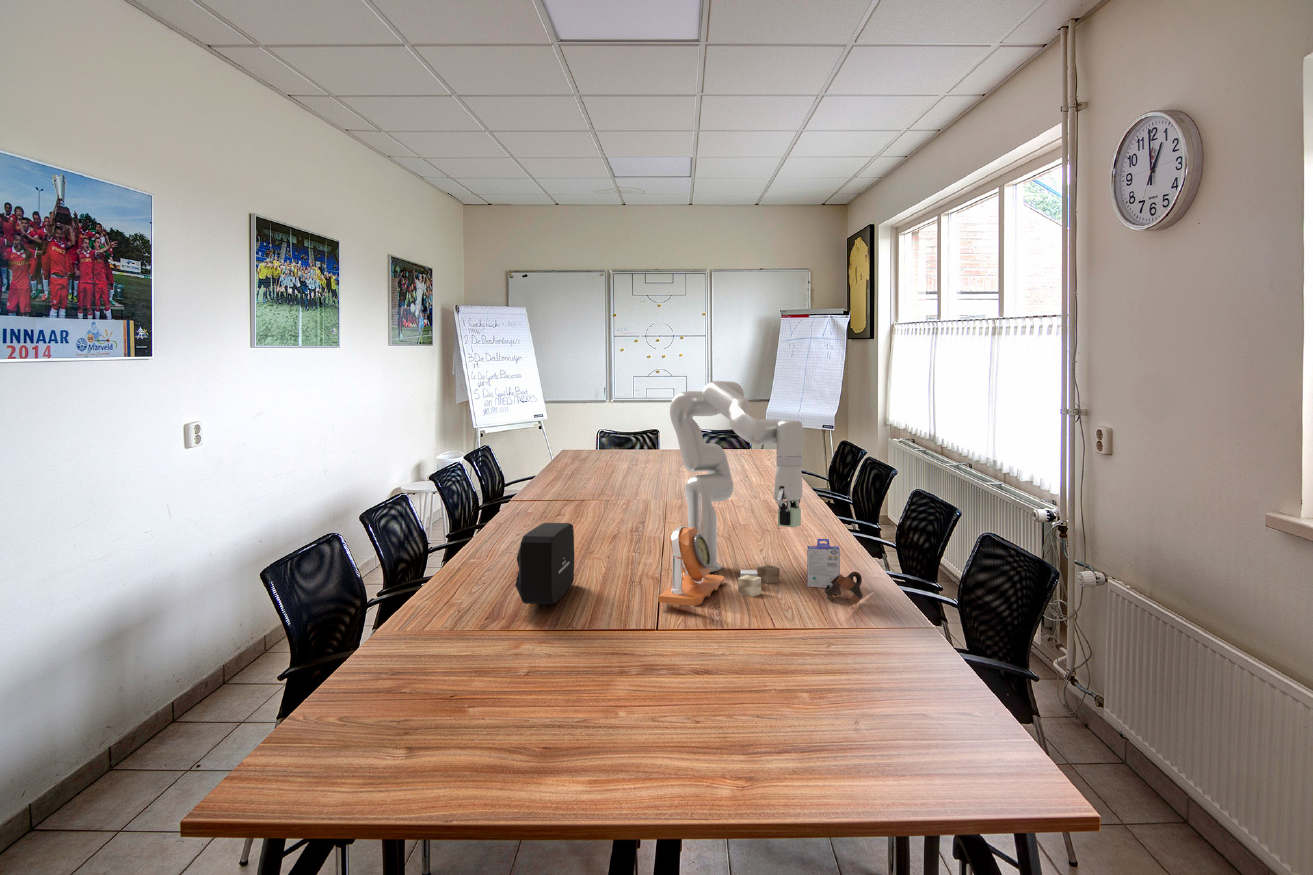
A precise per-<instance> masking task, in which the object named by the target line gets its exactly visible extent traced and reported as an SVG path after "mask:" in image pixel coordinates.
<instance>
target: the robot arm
mask: <svg viewBox="0 0 1313 875" xmlns="http://www.w3.org/2000/svg"><path fill="white" fill-rule="evenodd" d="M743 389H744V388H742V386H741V385H740V384H739V383H738V382H735V381H731V380H730V381H726V380H724V381H723V380H714V381H710V382H708V383H706V385H705V386H704V387H703V389H702V391H698V390H697V391H696V390H685V391H681V392H679V393H677V394H675V396H674V397H673V398H672V400H671V401H670V402H671V403H670V406H669V417H670V421H671V425H672V426H673V429H674V431H675V434H676V437H677V441H678V447H679V451H680V456H681V459H682V463H683V465H684V468H685V469H686V470H687V471H688V472H693V473H699V472H700V473H701V472H707V473H706V474H698V475H694V476H691V477H690V478H689V479H688V480H687V481H686V483H685V485H684V486H685V487H684V492H685V498H686V499H685V500H686V504H687V523H688V526H687V527H688V528H691V527H695V528H696V529H697V531H698V532H699V533H700V534H701V535H702V536H703V537H704V539H705V540H706V542H707V545H708V547H709V551H710V555H711V565H710V573H713V572H718V571H720V570H721V569H722V564H720V563H718V560H717V558H718V557H717V556H718V555H717V554H718V552H717V546H718V544H717V537H718V536H717V529H718V528H717V526H718V525H717V522H718V521H717V520H718V519H717V514H716V510H715V508H714V506H713V504H712V503H717V502H722V501H727V500H729V499H730V498H731V497H732V495H733V492H734V483H733V478H732V473H731V469H730V466H729V463H728V458H727V455H726V452H725V450H724V449H723V447H721V445H719V444H717V443H710V442H709V443H708V442H707V443H706V442H705V440H704V436H703V433H702V430H701V429H702V428H700V426H699V425H698V424H699V423H697V421H696V420H694V417H712V416H716V415H719V414H721V415H722V416H724V417H725V418H726V419H728V421H729V425H730V427H731V429H732V431H733V432H734V433H735V434H736V435H737V436H738V437H740V438H741V439H742V440H743V441H745V442H747V443H749V444H751V445H754V446H755V445H757V446H758V445H759V446H760V445H776V470H775V476H774V486H773V487H774V490H773V499H774V501H775V502H776V504H777V506H778V509H779V511H780V525H790V512H789V507H790V508H800V503H801V499H802V496H803V475H802V468H803V441H804V440H803V435H804V433H803V430H804V429H803V428H804V427H803V423H802V422H801V421H800V420H791V419H788V420H787V419H785V420H781V419H768V418H767V419H762V418H761V419H758V418H757V419H756V418H755V417H753V416H751V415H750V414H749V412H750V407H751V405H750V402H749V399H747V398H746V397H745V393H744V390H743Z"/></svg>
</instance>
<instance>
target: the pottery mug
mask: <svg viewBox="0 0 1313 875" xmlns="http://www.w3.org/2000/svg"><path fill="white" fill-rule="evenodd" d="M854 578H855V579H856V581H854ZM862 580H863V578H862V576H861V573H859V572H858V571H852V572H850V573H849V574H848V575H847V576H843V575H842V574H841V573H840V575H838V576H837V577H835V578H834V579H833V580H832V581H831V583H832V584H833V585H832V586H831V587H830V586H829V585H827V587H824V590H823V592H824V594H826V599H828V600H829V599H830V600H831V601H833V600H834V598H833V596H834V597H838V596H840V595H842V591H841V587H842V588H843V589H844V590H846V591H850V592H852V594H853V595H852V596H851V598H850V601H851V602H852V603H853V604H854V605H855V606H856V605H857V604H858V603H859V602H860V601H861V599H863V596H864V594H863V593H862V591H861V585H862V582H863V581H862Z"/></svg>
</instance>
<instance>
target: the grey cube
mask: <svg viewBox="0 0 1313 875" xmlns="http://www.w3.org/2000/svg"><path fill="white" fill-rule="evenodd" d="M745 575H749V576H756V577H758V573H757V569H740V577H743V576H745Z"/></svg>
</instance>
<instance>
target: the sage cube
mask: <svg viewBox="0 0 1313 875" xmlns="http://www.w3.org/2000/svg"><path fill="white" fill-rule="evenodd" d="M789 512H790V525H780V511H779V508H777V526H778V527H785V528H796V527H799V526H801V523H802V521H801V520H802V514H801V513H802V508H801V507H799V508H790V507H789Z"/></svg>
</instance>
